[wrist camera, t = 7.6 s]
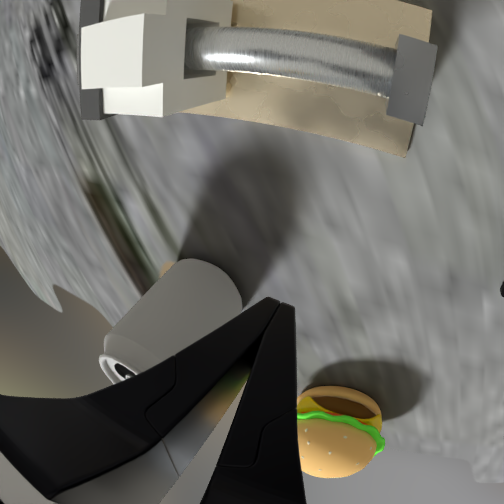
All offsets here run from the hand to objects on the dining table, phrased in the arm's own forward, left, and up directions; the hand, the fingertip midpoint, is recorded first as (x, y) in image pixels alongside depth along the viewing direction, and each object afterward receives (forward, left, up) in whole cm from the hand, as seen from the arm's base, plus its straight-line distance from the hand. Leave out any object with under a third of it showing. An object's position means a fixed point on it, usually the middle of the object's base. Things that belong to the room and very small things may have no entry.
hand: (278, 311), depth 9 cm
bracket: (+10, -7, -12) cm, 17 cm away
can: (+9, +13, -13) cm, 20 cm away
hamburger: (-7, +25, -13) cm, 29 cm away
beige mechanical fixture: (+7, -7, -12) cm, 16 cm away
